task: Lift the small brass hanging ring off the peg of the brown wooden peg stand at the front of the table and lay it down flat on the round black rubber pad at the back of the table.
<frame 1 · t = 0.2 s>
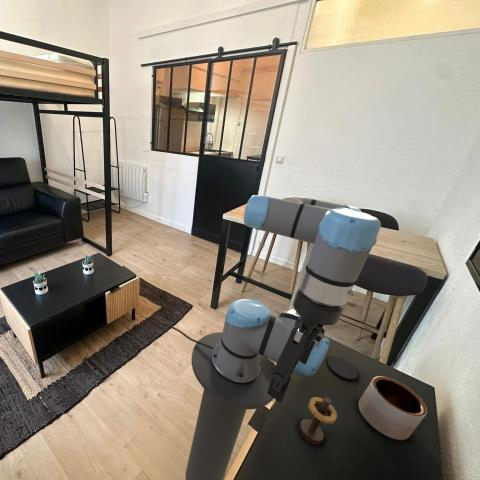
hand: (287, 377, 54), 20 cm above the table, tool pointing down, fingers open, 13 cm apart
planter: (381, 419, 67), on the table
brass ring: (322, 409, 59), point 9 cm above the table, touching brown wooden peg stand
rubber pad: (341, 368, 81), on the table
brown wooden peg stand: (310, 433, 62), on the table
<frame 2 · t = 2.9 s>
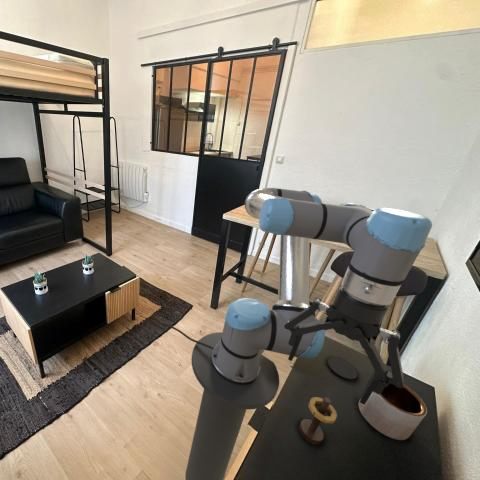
hand: (324, 376, 54), 20 cm above the table, tool pointing down, fingers open, 13 cm apart
nothing on the table moved.
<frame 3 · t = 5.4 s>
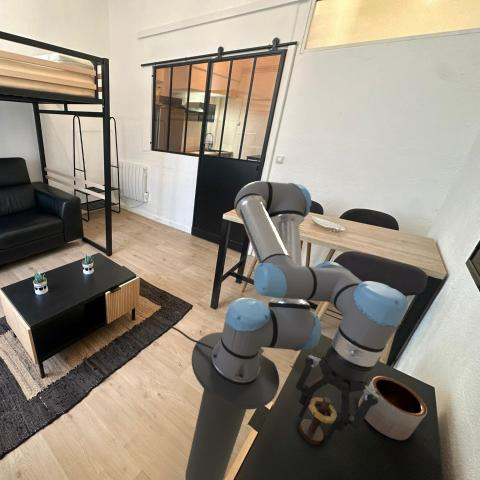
hand: (315, 423, 61), 4 cm above the table, tool pointing down, fingers closed on brass ring, 5 cm apart
brass ring: (322, 409, 59), point 9 cm above the table, touching gripper, brown wooden peg stand
everything else where it was.
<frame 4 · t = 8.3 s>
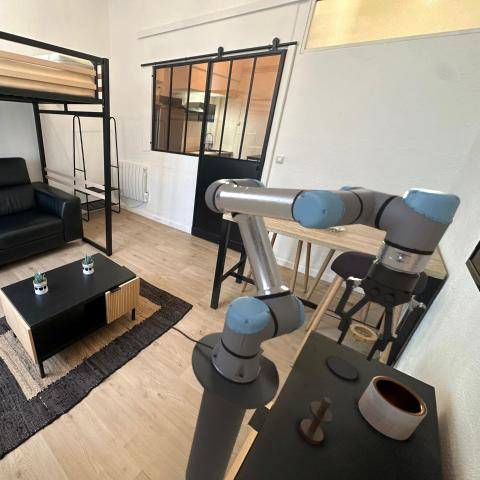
hand: (354, 349, 61), 21 cm above the table, tool pointing down, fingers closed on brass ring, 5 cm apart
brass ring: (362, 333, 59), point 26 cm above the table, touching gripper
everything else where it was.
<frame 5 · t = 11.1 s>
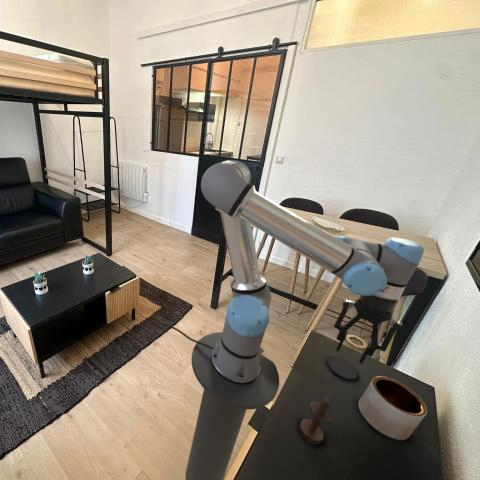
hand: (349, 354, 78), 6 cm above the table, tool pointing down, fingers closed on brass ring, 5 cm apart
brass ring: (355, 342, 76), point 11 cm above the table, touching gripper
everything else where it was.
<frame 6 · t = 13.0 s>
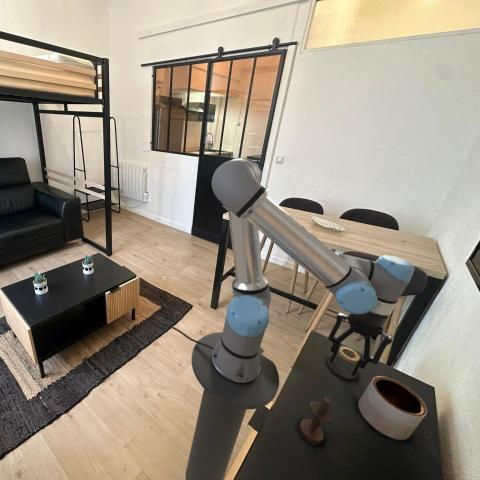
hand: (342, 366, 81), 1 cm above the table, tool pointing down, fingers closed on brass ring, 5 cm apart
brass ring: (348, 354, 79), point 6 cm above the table, touching gripper
everything else where it was.
when the fingers open (2 cm above the table, at t = 17.5 s): brass ring drops 6 cm, resting on rubber pad.
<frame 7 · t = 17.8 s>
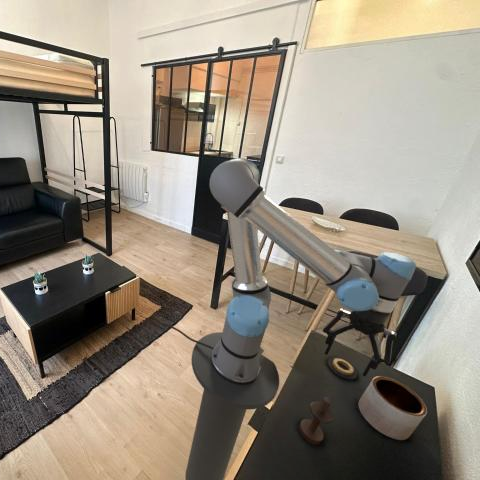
hand: (345, 362, 80), 3 cm above the table, tool pointing down, fingers open, 10 cm apart
brass ring: (342, 366, 81), point 1 cm above the table, touching rubber pad
everything else where it was.
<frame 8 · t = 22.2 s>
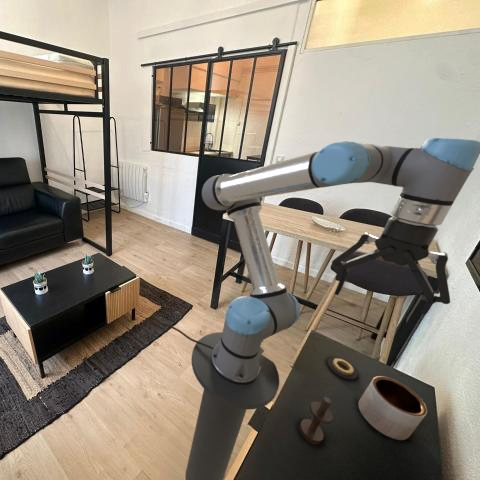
hand: (370, 306, 59), 32 cm above the table, tool pointing down, fingers open, 13 cm apart
nothing on the table moved.
at the end: brass ring 0.0 cm off-centre on the rubber pad, point 1.1 cm above the rubber pad's base; brass ring tilted 0° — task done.
